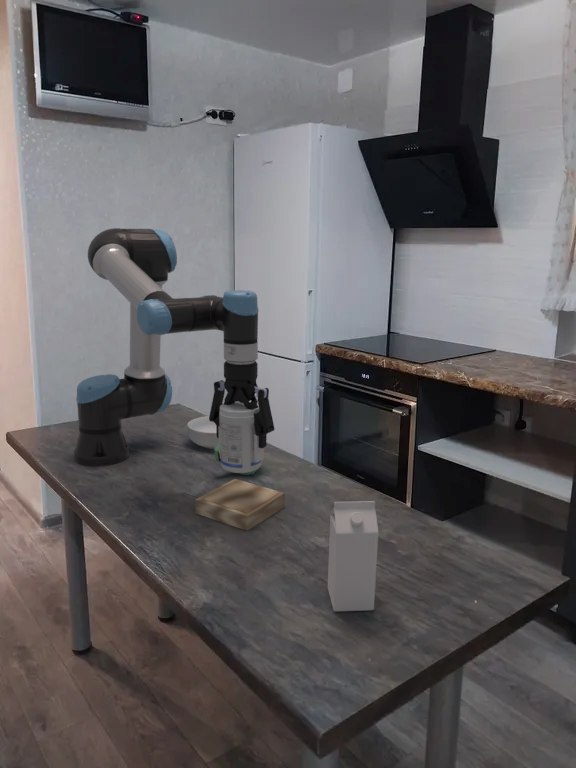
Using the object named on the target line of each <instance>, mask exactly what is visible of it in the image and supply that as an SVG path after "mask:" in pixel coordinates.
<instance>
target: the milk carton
mask: <svg viewBox="0 0 576 768" xmlns="http://www.w3.org/2000/svg"><path fill="white" fill-rule="evenodd" d="M376 512H377V511H376V501H375V500H369V501H368V500H367V501H366V500H364V501H360V500H359V501H334V502H333V509H332V510H331V512H330V515H329V516H330V518H329V520H330V521H329V545H328V546H329V547H328V565H327V566H328V567H327V568H328V574H327V591H328V594H329V599H330V603H331V606H332V611H333V612H357V611H358V612H359V611H360V612H361V611H362V612H363V611H373V610H375V597H376V596H375V595H376V582H377V581H376V580H377V579H376V578H377V562H378V544H379V527H378V525H379V524H378V519H377V513H376Z"/></svg>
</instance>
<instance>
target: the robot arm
mask: <svg viewBox="0 0 576 768" xmlns="http://www.w3.org/2000/svg"><path fill="white" fill-rule="evenodd" d="M87 260H88V263H89V266H90V268H91V269H92V271H94V273H95V274H96V275H97V276H98V277H100V278H102V279H103V280H106V281H108V282H109V283H111V285H112V286H113V287H114V288H115V289H116V290H117V291H118V292H119V293H120V294H121V295H122V296H123V297H124V298H125V299H126V300H127V302H129V303H130V306H129V308H130V309H129V311H130V313H129V316H130V317H129V365H128V366H127V367H125V369H124V370H123V371H124V373H123V374H124V375H123V376H124V377H123V378H120V377H119V376H118V375H116V374H108V373H107V374H101V375H100V374H99V375H94V376H91V377H88V378H85V379H83V380H82V381H80V382H79V383H78V384H77V386H76V399H75V400H76V403H77V404H76V405H77V416H78V418H77V419H78V432H79V433H78V437H77V441H76V445H75V449H74V452H73V455H74V461H75V462H76V463H77V464H79V465H83V466H91V467H92V466H93V467H97V466H98V467H99V466H100V467H101V466H103V467H104V466H109V465H115V464H118V463H120V462H122V461H125V460H127V459H128V458H129V456H130V449H129V445H128V444H127V440H126V437H125V435H124V433H123V429H122V420H125V419H126V420H127V419H130V418H137V417H142V416H148V415H149V416H150V415H155V414H157V413H162V412H164V411H166V410H167V409H168V408H169V406H170V404H171V402H172V397H173V385H172V382H171V379H170V377H169V376H168V375H167V374H166V372H165V369H164V368H163V367H162V366H161V365H160V364H161V336H163V335H167V334H177V333H178V334H179V333H190V332H202V331H211V330H216V331H221V332H223V359H224V360H225V361H224V362H223V377H224V380H222V379H221V380H219V381H218V380H217V381H215V382H213V389H214V390H213V391H214V392H213V396H212V403H211V406H210V412H209V415H208V416H209V420H210V421H211V422H212V421H213V422H214V423H215V424H216V431H217V432H216V436H217V438H219V454H220V424H219V412H220V406H221V405H222V404H224V405H230V404H233V403H235V402H237V401H239V402H240V403H244V406H245V407H246V408H247V409H250V410H253V409H256V408H258V405H259V412H258V413H254V426H255V429H256V431H257V433H256V434H254V462H256V463H257V462H259V461H261V460H262V461H263V460H264V459H265V456H264V455H265V453H264V452H265V448H267V440H268V439H267V437H268V436H267V435H268V434H270V433H271V432H274V431H275V424H274V421H273V416H272V411H271V406H270V405H271V404H270V399H269V393H270V390H269V388H268V387H263V388H262V387H259V386H258V384H257V379H258V374H259V373H258V367H259V366H258V365H259V364H258V362H257V360H258V359H259V357H258V356H259V355H258V354H259V351H258V350H259V349H258V348H259V347H258V343H259V342H258V339H259V338H258V336H259V335H258V334H259V333H258V332H259V331H258V329H259V328H258V327H259V307H258V306H259V305H258V295H257V293H256V292H255V291H251V290H242V289H241V290H240V289H237V290H226V291H224V293H223V297H221V296H217V295H214V294H211V295H201V296H199V297H184V298H183V297H180V298H179V297H178V298H174V297H172V296H170V294H168V293H167V292H166V291H165V290H164V289H163V286H164V285H165V284H166V283H168V280H169V279H168V277H169V274H171V273H172V272H174V271H175V269H176V266H177V264H178V254H177V249H176V246H175V242H174V241H173V238H172V237H171V235H170V234H169V233H168V232H167V231H165V230H161V229H154V228H108V229H104V230H103V231H100V232H99V233H98V234H97V235H95V236H94V238H93V239H92V240H91V242H90V244H89V246H88V249H87ZM225 391H226V392H227V393H225ZM225 394H226V395H225ZM249 401H251V402H249ZM223 402H224V403H223ZM257 403H258V405H257Z"/></svg>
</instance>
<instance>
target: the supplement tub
mask: <svg viewBox="0 0 576 768" xmlns="http://www.w3.org/2000/svg"><path fill="white" fill-rule="evenodd" d="M249 402H251V400H250V401H249ZM257 405H258V402H257ZM258 412H259V405H258V408H256V409H253V410H250V409H247V408H246V407H245V406H244V403H240V402H239V401H237V402H235V403H233V404H230V405H224V403H222V405H221V406H220V412H219V424H220V453H219V454H220V459H221V464H220V467H221V468H222V469H223V470H225V471H227V472H230V473H235V474H240V473H247V472H251V471H254V470H256V469H257V470H259V468H260V467H261V466H262V462H263V460H261V461H259V462H257V463H256V462H254V434H256V433H257V431H256V429H255V426H254V413H258Z"/></svg>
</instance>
